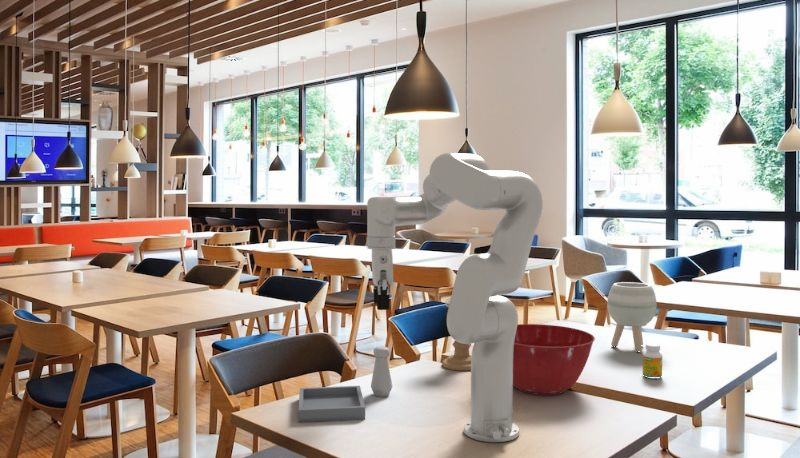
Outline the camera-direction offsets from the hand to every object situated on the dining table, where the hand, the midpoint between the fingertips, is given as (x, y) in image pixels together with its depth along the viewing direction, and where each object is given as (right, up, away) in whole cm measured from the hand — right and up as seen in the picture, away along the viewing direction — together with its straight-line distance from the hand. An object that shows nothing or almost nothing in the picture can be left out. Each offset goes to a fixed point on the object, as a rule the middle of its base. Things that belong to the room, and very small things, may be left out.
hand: (381, 306), depth 184 cm
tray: (-12, -25, -10) cm, 30 cm away
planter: (+85, -21, +53) cm, 102 cm away
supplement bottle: (+80, -23, +18) cm, 85 cm away
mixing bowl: (+45, -24, +7) cm, 51 cm away
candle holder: (+25, -23, +31) cm, 45 cm away
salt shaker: (0, -24, +1) cm, 24 cm away
